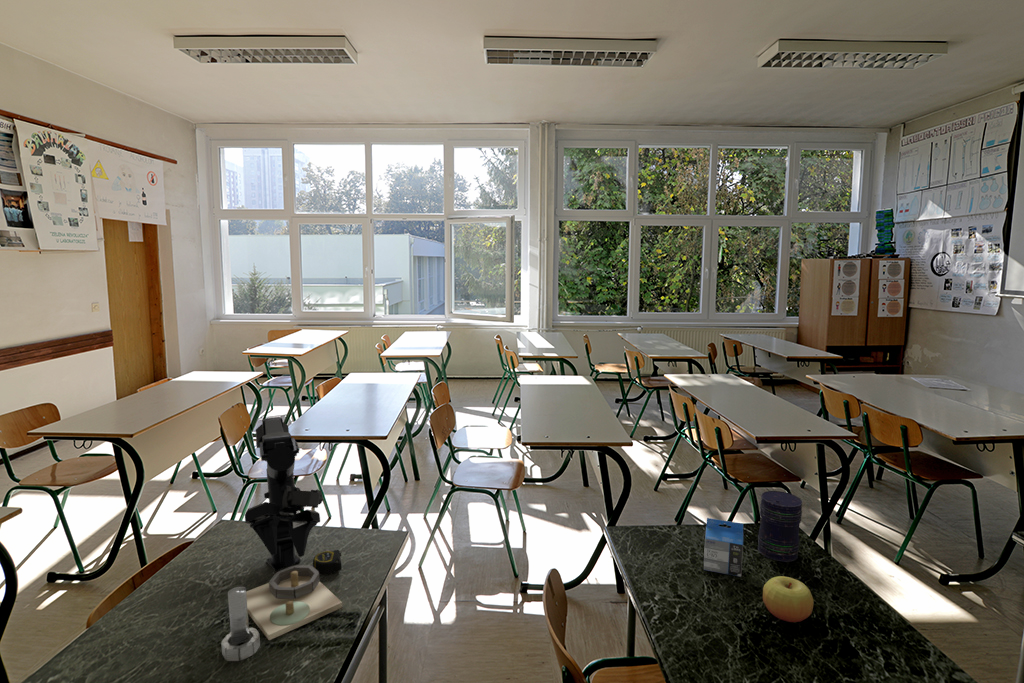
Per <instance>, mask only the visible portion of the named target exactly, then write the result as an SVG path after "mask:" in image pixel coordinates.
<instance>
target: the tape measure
mask: <svg viewBox="0 0 1024 683" xmlns="http://www.w3.org/2000/svg"><path fill="white" fill-rule="evenodd" d="M341 557H342V552H340V550H338V549H336V550H325V551H321V552H319V553H317V554H316V555H315V556H314V557H313V560H312V566H313V567H314V568H315V569H316V570H317V571H318V572H319V576H320V575H321V576H323V575H324V576H327V575H331V574H334V573H338V572H340V571H342V567H343V564H342V561H341Z"/></svg>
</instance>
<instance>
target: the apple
mask: <svg viewBox="0 0 1024 683" xmlns="http://www.w3.org/2000/svg"><path fill="white" fill-rule="evenodd" d="M814 600H815V599H814V597H813V595H812V593H811V590H810V589H809V587H808V586H807V585H805V584H804V583H803V582H802V581H800V580H798V579H795V578H793V577H789V576H780V575H779V576H774V577H772V578H770V579H769V580H768V581H766V582H765V584H764V585H763V588H762V601H763V604H764V606H765V607H766V609H767V610H768V612H769V613H771V614H772V615H773V616H774V617H776V618H777V619H779V620H781V621H785V622H789V623H797V622H799V623H800V622H802V621H804V620H805V619H808V618H809V617H810V615H811V614H812V612H813V610H814V609H813V608H814Z"/></svg>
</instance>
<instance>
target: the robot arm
mask: <svg viewBox="0 0 1024 683" xmlns="http://www.w3.org/2000/svg"><path fill="white" fill-rule="evenodd" d="M261 421H262V423H261V424H260V425H259V426H258V427H257V428H256V429H255V440H256V442H255V444H256V448H257V449H259V455H260V459H261V462H266V479H267V480H266V481H267V492H265V493H264V494H263V495H264V499H268V502H267V501H264V502H261V503H260V504H257V505H254V506H252V507H250V508H247V510H246V512H245V514H244V523H245V524H249V528H252V529H253V531H254V532H255V533H256V534H257V536H258V538H259V540H261V542H262V543H263V544H264V547H266V549H267V551H268V552H269V554H270V557H269V558H267V559H266V560H265V561H266V563H267V564H268V565H269V566H270V567H271V568H272V569H273V570H274V571H277V572H278V571H280V570H283V569H286V568H288V567H291V566H294V565H297V564H298V563H300V562H301V557H304V556H305V552H306V548H307V543H308V539H309V535H310V532H311V530H313V528H314V527H315V526H317V524H318V523H319V524H320V522H321V516H320V512H318V511H316V510H310V509H305V508H312V507H313V508H314V509H317V508H319V505H321V504H322V502H323V501H324V497H323V493H322V490H321V489H311V490H301V488H299V487H296V484H295V475H294V470H295V464H296V463H295V462H296V457H297V456H298V454H300V447H299V445H298V444H299V443H298V442H297V441H296V439H295V438H294V437H292V435H291V433H290V429H289V425H288V424H286V423H285V422H283V417H280V416H277V417H276V416H275V417H268V418H264V419H262V420H261ZM304 509H305V510H304ZM297 512H298V513H297ZM296 553H297V555H298V556H297V555H296Z"/></svg>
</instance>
